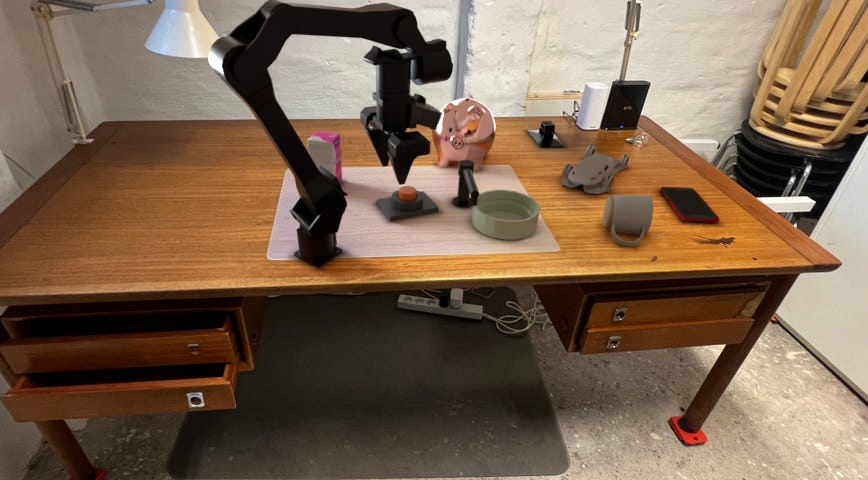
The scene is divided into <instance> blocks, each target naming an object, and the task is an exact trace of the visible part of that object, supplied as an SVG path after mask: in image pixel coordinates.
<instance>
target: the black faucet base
mask: <svg viewBox="0 0 868 480" xmlns="http://www.w3.org/2000/svg"><path fill="white" fill-rule="evenodd" d="M457 185H458V186H457V187H458V188H457V196H455V197H453V198H452V200H451V204H452V205H453V206H454V207H456V208H459V209H470V208H472V206H471V205H470V199H471V195H470V192H469V189H468V186H467V183H466V180H465V178H464V177H460V176H459V175H458V184H457Z"/></svg>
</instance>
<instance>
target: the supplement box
mask: <svg viewBox="0 0 868 480" xmlns="http://www.w3.org/2000/svg"><path fill="white" fill-rule="evenodd" d="M306 141H307V151H308V153H309V154H310V156H311V158H312V159H313V161H314V163H315V164H316V166H317V168H319V167H320V166H321V165H323V166H324V167H325V168H326V169H327V170H329V171H330V172H331V173H332V174H333V175H335V176H336V177H337V178H338V180H339V182H340V183H342V181H343V169H342V167H343V165H342V146H341V145H342V144H341V141H342V140H341V134H340V133H336V132H335V133H334V132H326V131H318V130H316V131H315V132H314V133H313V134H312V135H311V136H310V137H309V138H308V139H307V140H306Z"/></svg>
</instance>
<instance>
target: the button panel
mask: <svg viewBox="0 0 868 480" xmlns="http://www.w3.org/2000/svg"><path fill="white" fill-rule="evenodd" d="M391 193H392V194H391V196H388V197H383V198H377V199H376V202H375V203H376V206H377V207H378V208H379V209H380V211H381V212H382V214H383V215H384V216H385V217H386V219H387V221H389V222H395V221H400V220H406V219H410V218H415V217H421V216H425V215H432V214H436V213H439V206H438V205H437V204H436V203H435V201H433V200H432V199H431V198H430V196H428V195H427V193H425V192H424V190H417V189H416V198H415V199H414V200H409V201H406V200H401V199H399V189H397V190H395V191H393V192H391Z"/></svg>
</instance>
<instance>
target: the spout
mask: <svg viewBox="0 0 868 480" xmlns="http://www.w3.org/2000/svg"><path fill="white" fill-rule="evenodd" d="M457 168H458V169H457V175H458V177H459V176H460V177H464V178H465V180H466V183H467V186H468V189H469V192H470V198H471V199H470V205H471V206H477V202H478V197H479V194H480V192H479V187H478V186H477V182H476V180H475V177H474V171H473V170H474V162H472V161H470V160H461V161H459V163H458V167H457Z"/></svg>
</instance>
